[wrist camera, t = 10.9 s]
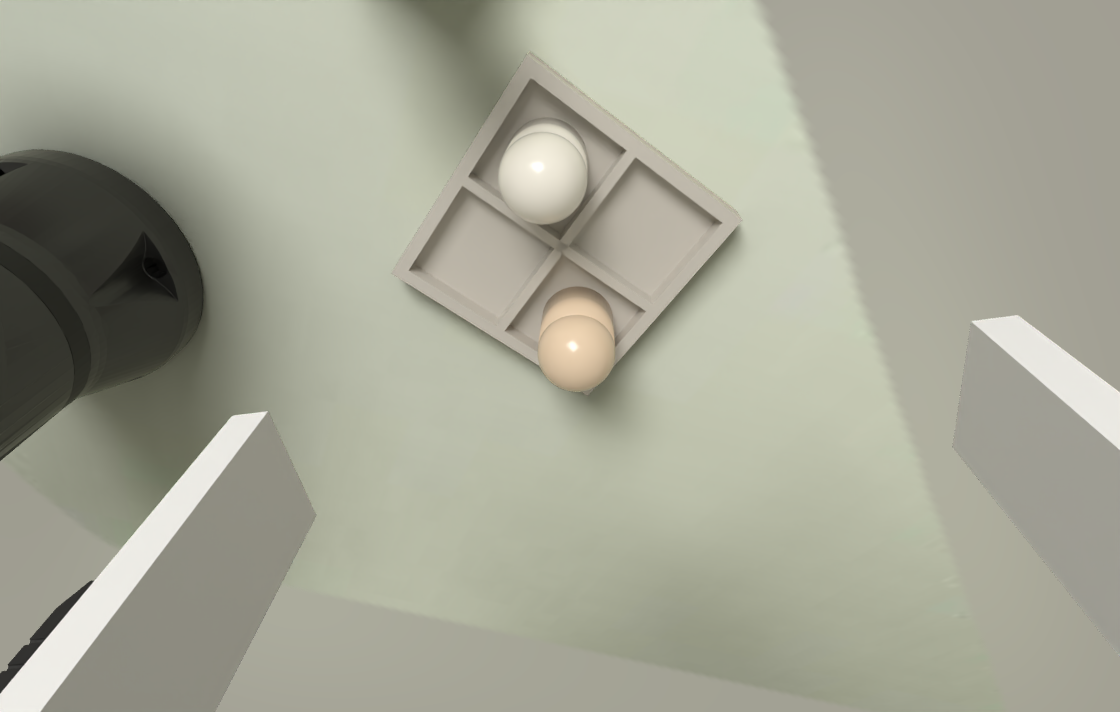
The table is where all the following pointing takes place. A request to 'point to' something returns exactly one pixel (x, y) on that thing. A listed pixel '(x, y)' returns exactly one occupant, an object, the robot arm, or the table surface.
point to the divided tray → (564, 225)
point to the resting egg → (544, 171)
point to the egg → (576, 339)
